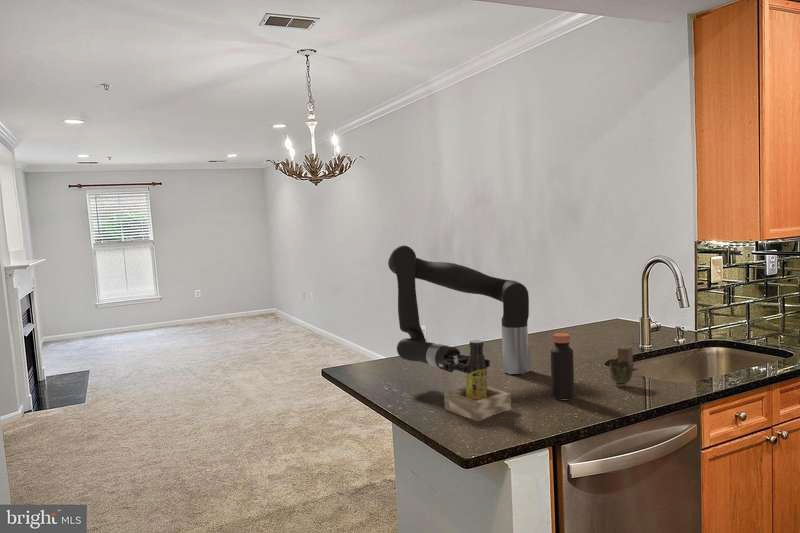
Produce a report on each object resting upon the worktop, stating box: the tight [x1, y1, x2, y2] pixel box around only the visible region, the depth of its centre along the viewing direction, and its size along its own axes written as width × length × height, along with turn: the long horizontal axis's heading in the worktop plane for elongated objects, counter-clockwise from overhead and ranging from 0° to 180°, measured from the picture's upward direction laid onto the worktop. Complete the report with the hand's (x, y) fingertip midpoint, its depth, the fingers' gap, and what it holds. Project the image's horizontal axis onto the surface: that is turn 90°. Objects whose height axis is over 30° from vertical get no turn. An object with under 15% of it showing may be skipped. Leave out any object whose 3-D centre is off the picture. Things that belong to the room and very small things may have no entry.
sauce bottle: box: [465, 339, 488, 401], centre depth 175 cm, size 7×6×20 cm
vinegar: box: [550, 332, 575, 400], centre depth 183 cm, size 7×7×20 cm
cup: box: [608, 359, 634, 388], centre depth 191 cm, size 8×7×8 cm
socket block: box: [443, 386, 512, 422], centre depth 176 cm, size 14×14×5 cm
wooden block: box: [617, 345, 634, 364], centre depth 211 cm, size 4×4×8 cm
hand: (478, 366), depth 174 cm, fingers open, 8 cm apart
